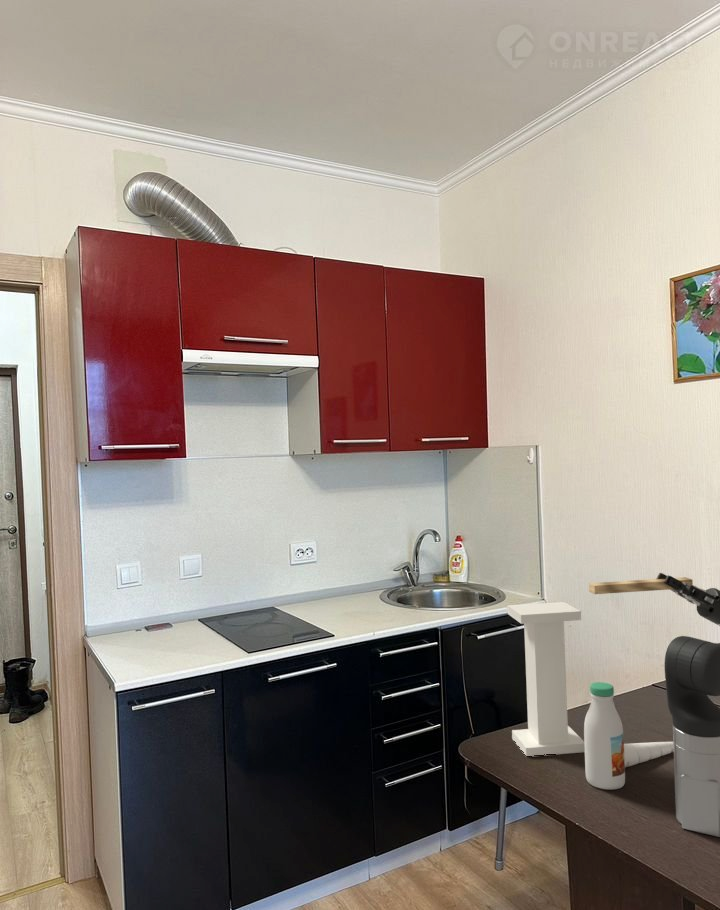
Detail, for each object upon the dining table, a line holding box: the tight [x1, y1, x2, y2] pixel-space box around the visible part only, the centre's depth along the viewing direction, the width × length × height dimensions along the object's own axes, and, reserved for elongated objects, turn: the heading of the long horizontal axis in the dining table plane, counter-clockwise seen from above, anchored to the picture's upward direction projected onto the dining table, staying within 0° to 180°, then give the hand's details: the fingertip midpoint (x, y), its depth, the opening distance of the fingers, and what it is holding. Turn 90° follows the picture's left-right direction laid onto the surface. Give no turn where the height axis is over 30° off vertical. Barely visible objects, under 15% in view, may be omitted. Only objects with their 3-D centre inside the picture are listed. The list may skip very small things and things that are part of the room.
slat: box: [588, 576, 694, 595], centre depth 162 cm, size 24×3×2 cm, turn 95°
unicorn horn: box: [624, 741, 674, 768], centre depth 152 cm, size 5×24×5 cm, turn 111°
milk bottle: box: [583, 681, 626, 791], centre depth 142 cm, size 8×8×20 cm
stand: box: [506, 601, 585, 757], centre depth 160 cm, size 14×10×32 cm
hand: (662, 577), depth 163 cm, fingers closed on slat, 3 cm apart
